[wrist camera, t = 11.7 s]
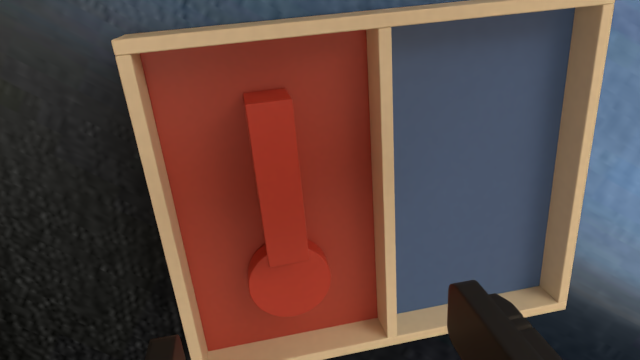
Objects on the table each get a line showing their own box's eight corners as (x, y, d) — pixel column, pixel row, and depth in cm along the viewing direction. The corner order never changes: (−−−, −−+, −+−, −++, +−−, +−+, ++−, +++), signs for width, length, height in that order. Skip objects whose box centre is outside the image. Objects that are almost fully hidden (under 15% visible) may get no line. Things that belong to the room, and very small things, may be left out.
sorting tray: (123, 34, 20) (110, 40, 18) (577, -11, 23) (617, -11, 21) (199, 351, 27) (197, 386, 25) (539, 284, 30) (565, 309, 28)
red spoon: (215, 95, 21) (215, 108, 19) (310, 84, 22) (320, 95, 19) (253, 310, 26) (256, 341, 23) (329, 296, 26) (339, 324, 24)
